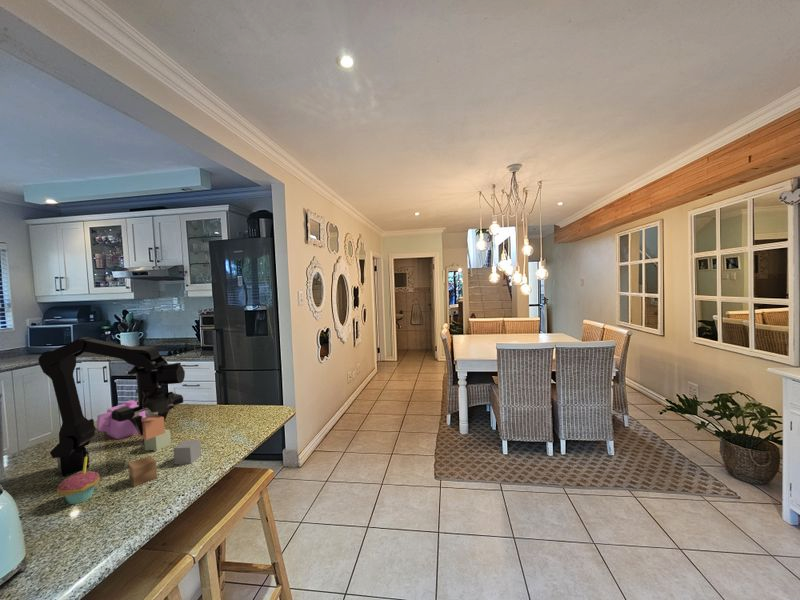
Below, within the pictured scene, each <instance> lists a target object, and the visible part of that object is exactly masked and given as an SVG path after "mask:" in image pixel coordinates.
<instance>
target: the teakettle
mask: <svg viewBox="0 0 800 600" xmlns="http://www.w3.org/2000/svg"><path fill="white" fill-rule="evenodd" d="M137 402H138V400H133V399H132V400H126V401H124V402H123V403H122V404H118V405H116V406H111V407H108V409H107V411H106V412H105V413H102V414H98V415H97V417H96V419H97V420H96V431H99V432H105V433H106V434H107V435H108V436H110V437H111V438H114V439H115V440H119V439H124V438H127V437H130V436H134V435H138V431H137V430H136V428H135V426H134V425H133V424H132V422H131V421H130V420H125V421H121V422H119V421H116V420H113V419H112V412H113V411H114V410H116V409H119V408H123V407H126V406H127V407H130V408H134V407H138V406H139V405H137ZM139 415H140V416H142V419H143V418H145V417H146V416H145V411H142V412H139Z"/></svg>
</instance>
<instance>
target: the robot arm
mask: <svg viewBox="0 0 800 600" xmlns="http://www.w3.org/2000/svg"><path fill="white" fill-rule="evenodd" d="M85 353H89V354H95V355H99V356H104V357H109V358H115V359H119V360H122V361H124V362H125V363H127V364H129V365H132V367H133V368H132V369H130V370H129V371H128V373H127V374H128V375H136V387H137V388H136V389H135V394H137V401H138V402H137V405H139V406H138V407H134V408H130V407H127V406H126V407H123V408H119V409H116V410H114V411H113V412H112V419H113V420H116V421H119V422H121V421H125V420H130V421H131V422H132V424H133V425H134V426H135V428H136V430H137V431H138V433H139V434H140V435H141V436H142V435H143V429H142V423H141V419H142V416H140V415H139V412H142V411H145V410H148V409H149V410H150V411H151V412H153V413H155V412H158V415H159V416H162V417H164V423H165V422H166V419H167V416H168V414H169V412H170V411H171V410H172V409H174V408H175V406H177V405H180V404H183V403H184V397H183V395H182V394H178V393H175V392H173V391H168V392H165V393H163V392H162V388H161V386H160V385H174V384H181V383H183V382H184V379H185V375H186V374H185V373H186V372H185V371H186V370H184V367H183V366H182V364H181V362H174V363H168V361H166V359H165V358H164V357H163V356H162V355H161V354H160V352H159V350H158V348H157V347H155V346H148V345H147V346H146V345H144V346H143V345H141V346H140V345H137V346H136V345H135V346H134V345H133V346H132V345H131V346H129V345H124V344H120V343H115V342H110V341H105V340H100V339H95V338H92V337H89V336H86V337H82V338H81V337H80V338H76V339H74V341H70V342H69V343H67V344H64V345H63V346H60V347H58V348H56V349H52V350H47V351H44V352H43V353H41V354H40V356H39V357H38V361H37V362H38V364H39V366H40V368H41V370H42V372H43V373H44V375H46V376H47V377H48V378H50V380H51V382H52V386H53V390H54V394H55V398H56V401H57V406H58V410H59V414H60V418H61V422H62V423H61V426H60V428H59V432H58V443H57V445H55V447H53V448H52V450H50V452H49V455H50V456H51V458H52V459H56V462H57V463H56V464H57V470H55V472H56V474H58V475H60V476H61V477H66V476H69V475H70V476H71V475H73V474H76V473H78V472H81V471H83V465H84V457H86V454H87V457H88V458H87V466H86V469H89V468H90V454H89V451H88V450H87V446H88V445H90V443H91V440H92V439H93V438H94V437H95V435H96V432H95V431H97V427H96V426H95V420H94V418H90V419H88V418H87V417H85V416H84V413H83V410H82V406H81V402H80V398H79V393H78V389H77V386H76V381H75V378H74V377H75V376H74V372H75V369H76V366H77V357H79V356H81V355H83V354H85ZM159 384H160V385H159ZM159 386H160V387H159ZM138 433H137V434H138Z"/></svg>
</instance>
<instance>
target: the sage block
mask: <svg viewBox="0 0 800 600" xmlns="http://www.w3.org/2000/svg"><path fill="white" fill-rule="evenodd" d="M171 440H172V439H171V430H170V429H165V433H164V434H161V435H158V436H156V437H153V438H150V439H147V440H145V439H143V442H144V450H145V449H148V450H147V451H149V450H155V451H154V452H158V451H157V450H159V449H161V448H163V449H165V448H166V446H167V447H169V446H170V445H172V441H171ZM164 447H165V448H164ZM161 450H162V449H161ZM159 451H160V450H159Z"/></svg>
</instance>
